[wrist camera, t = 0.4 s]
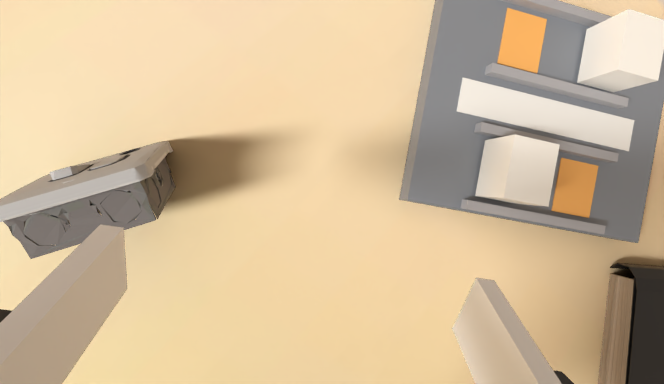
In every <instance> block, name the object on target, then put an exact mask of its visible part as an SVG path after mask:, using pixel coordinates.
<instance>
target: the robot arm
mask: <svg viewBox="0 0 664 384" xmlns="http://www.w3.org/2000/svg"><path fill="white" fill-rule="evenodd" d="M126 290H127V274H126V258H125V241H124V228H122V227H115V226H108V225H101V224H100V225H99V226H98V227H97V228H96V229H95V230H94V231H93V232H92V233H91V234H90V235H89V236H88V237H87V238H86V239H85V240H84V241H83V242H82V243H81V244H80V245H79V246H78V247H77V248H76V249H75V250H74V251H73V252H72V253H71V254H70V255H69V256H68V257H67V258H66V259H65V260H64V261H63V262H62V263H61V264H60V265H59V266H58V267H57V268H56V269H55V270H54V271H53V272H51V273H50V274H49V275H48V276H47V277H46V278H45V279H44V280H43V281H42V282H41V283H40V284H39V285H38V286H37V287H36V288H35V289H34V290H33V291H32V292H31V293H30V294H29V295H28V296H27V297H26V298H25V299H24V300H23V301H22V302H21V303H20V304H19V305H18V306H17V307H16V308H15V309H14V310H13V311H10V310H1V309H0V384H62V383H63V382H64V380H65V379H66V377H67V376H68V374H69V373H70V371H71V370H72V368H73V367H74V365H75V364H76V363H77V361H78V360H79V358H80V357H81V355H82V354H83V352H84V351H85V349H86V348H87V347H88V345H89V344H90V342H91V341H92V339H93V338H94V336H95V335H96V333H97V332H98V331H99V329H100V328H101V326H102V325H103V323H104V322H105V320H106V319H107V317H108V316H109V315H110V313H111V312H112V310H113V309H114V307H115V306H116V304H117V303H118V301H119V300H120V299H121V297H122V296H123V294H124V293H125V291H126ZM452 330H453V332H454V334H455V337H456V339H457V341H458V344H459V346H460V349H461V351H462V353H463V356H464V358H465V360H466V363H467V365H468V367H469V370H470V372H471V375H472V377H473V379H474V382H475V384H574V383H573V382H572V381H571V380H570V379H569V378H568V377H567V376H566V375H565V374H563V373H562V372H559V371H553V370H552V368H551V367H550V365H549V363H548V362H547V360H546V359H545V357H544V356H543V354H542V353H541V351H540V350H539V348H538V347H537V345H536V344H535V342H534V341H533V339H532V337H531V336H530V334H529V333H528V331H527V330H526V328H525V327H524V325H523V324H522V322H521V321H520V319H519V318H518V316H517V315H516V313H515V311H514V310H513V308H512V307H511V305H510V304H509V302H508V301H507V299H506V298H505V296H504V295H503V293H502V292H501V290H500V289H499V287H498V285H497V284H496V282H495V281H494V280H488V279H481V278H476V279H475V281H474V283H473V285H472V287H471V289H470V292H469V294H468V296H467V298H466V300H465V302H464V304H463V306H462V309H461V311H460V313H459V315H458V317H457V319H456V321H455V324H454V326H453V328H452Z"/></svg>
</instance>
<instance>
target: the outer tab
mask: <svg viewBox="0 0 664 384" xmlns="http://www.w3.org/2000/svg"><path fill="white" fill-rule="evenodd" d="M663 52H664V20H663V19H659V18H656V17H653V16H650V15H647V14H643V13H640V12H637V11H634V10H630V9H628V10H625V11H623V12H621V13H619V14H617V15H615V16H613V17H611V18H609V19H607V20H605V21H603V22H601V23H599V24H597V25H595V26H592V27H590V28H588V29H587V30H586V36H585V41H584V47H583V52H582V58H581V63H580V69H579V74H578V80H577V83H580V84H584V85H588V86H591V87H595V88H599V89H603V90H607V91H610V92H617V91H621V90H625V89H628V88H632V87H636V86H640V85H644V84H647V83H651V82H655V81H658V79H659V74H660V68H661V63H662V57H663Z"/></svg>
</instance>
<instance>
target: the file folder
mask: <svg viewBox="0 0 664 384" xmlns="http://www.w3.org/2000/svg"><path fill="white" fill-rule="evenodd" d="M610 268H618V269H630V270H631V272H632V274H633V275H634V277H635V278H634V279H633V278H628V277H624V276H620V275H616V274H610V281H609V288H608V296H607V305H606V315H605V324H604V333H603V342H602V351H601V360H600V369H599V378H598V384H664V267H662V266H648V265H635V264H622V263H617V264H615V265H613V266H611V267H610Z"/></svg>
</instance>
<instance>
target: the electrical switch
mask: <svg viewBox="0 0 664 384" xmlns="http://www.w3.org/2000/svg"><path fill="white" fill-rule="evenodd" d="M172 151H173V150H172V148H171V145H170V143H169V141H163V142H157V143H154V144H150V145H147V146H143V147H140V148H136V149H133V150H129V151H125V152H122V153H118V154H115V155H111V156H108V157H104V158H101V159H97V160H94V161H90V162H86V163H83V164H79V165H76V166H70V167H67V168H63V169H59V170H55V171H53V172H50V174H48V175H46V176H43V177H41V178H40V179H38V180H36V181H34V182H32V183H30V184H28V185H26V186H24V187H22V188H20V189H18V190H16V191H14V192H12V193H10V194H9V195H7V196H5V197H3V198H1V199H0V222H2V221H3V222H4V223H5V224H6V225H7V226H8V227H9V229H10V231H11V233H12V235H13V236H14V237H15V238H17V239H18V240H19V241H20V242H21V244H22V245H23V247H24V249H25V250H26V252H27V254H28V255H29V257H30V258H31V259H32V258H35V257H39V256H42V255H45V254H48V253H52V252H55V251H58V250H61V249H64V248H68V247H71V246H74V245H77V244H81V243H82V242H83V241H84V240H85V239H86V238H87V237H88V236H89V235H90V234H91V233H92V232H93V231H94V230H95V229H96V228H97V227H98V226H99V225H100V224H101V225H108V226H115V227H122V228H124V230H126V229H129V228H132V227H135V226H138V225H142V224H145V223H148V222H151V221H155V220H156V218H155V215H156V217H157V219H158V217H159V215H160V214H161V212H162V210H163V208H164V206H165V205H166V203H167V201H168V199H169V197H170V196H171V194H172V192H173V190H174V188H175V187H176V186H175V184H174V181H173V179H172V177H171V174H170V173H171V171H170V168H169V166H168V164H167V162H166V159H165V157H166V155H167V154H168V153H171V152H172ZM151 208H152V209H151ZM97 209H98V210H99V211H100V213H101V214H102V216H101V215H100V214H99V212H98V211H97ZM152 210H153V211H152ZM153 212H154V213H155V215H154V213H153ZM135 219H136V220H135ZM65 229H66V230H65ZM55 245H56V246H55Z"/></svg>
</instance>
